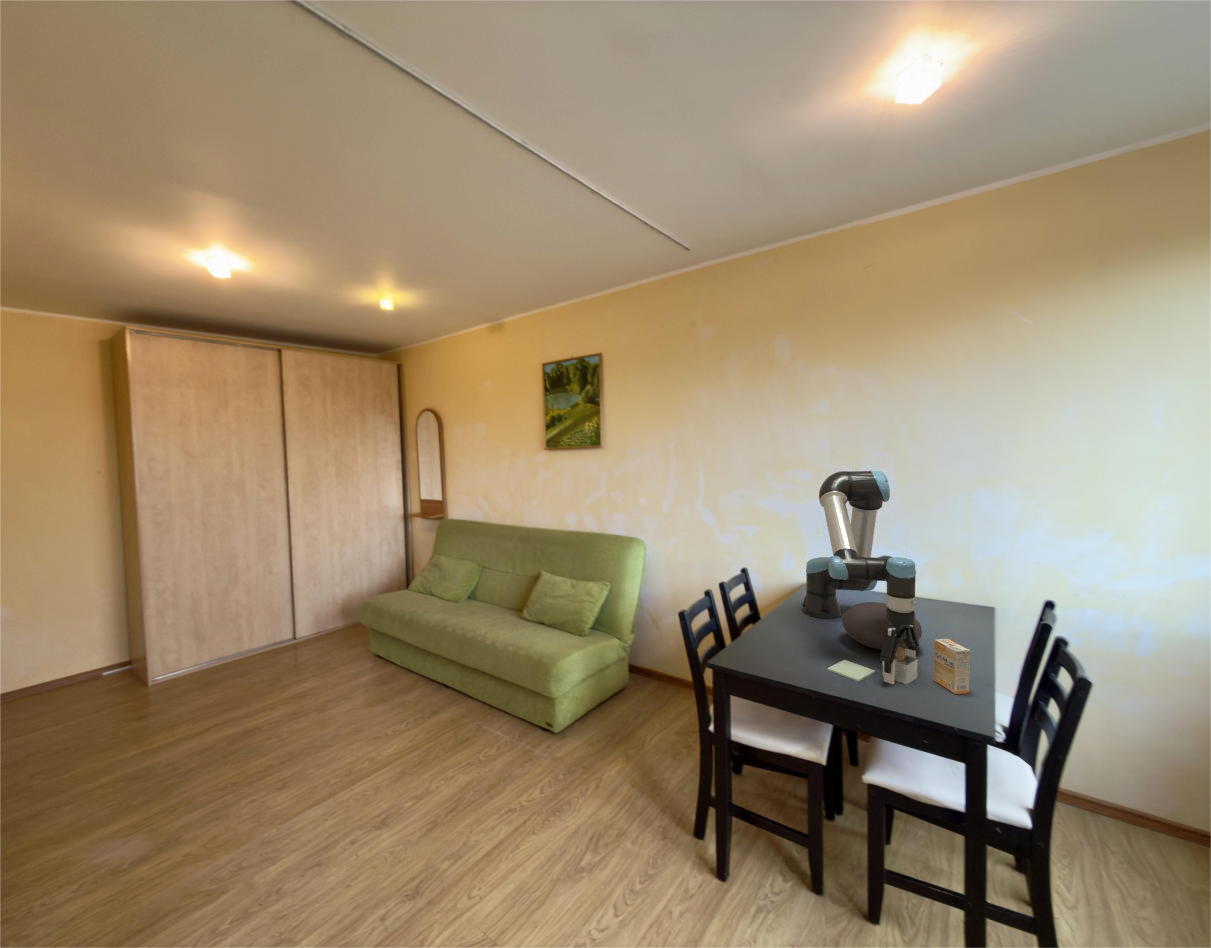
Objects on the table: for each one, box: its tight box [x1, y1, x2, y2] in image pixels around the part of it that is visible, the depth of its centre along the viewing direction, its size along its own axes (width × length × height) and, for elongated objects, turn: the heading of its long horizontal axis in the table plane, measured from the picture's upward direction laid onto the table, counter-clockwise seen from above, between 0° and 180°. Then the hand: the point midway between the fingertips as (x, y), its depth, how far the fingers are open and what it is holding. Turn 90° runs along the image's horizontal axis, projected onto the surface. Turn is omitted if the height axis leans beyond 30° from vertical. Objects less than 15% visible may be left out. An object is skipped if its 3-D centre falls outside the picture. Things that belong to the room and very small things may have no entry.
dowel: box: [895, 647, 905, 662], centre depth 151 cm, size 2×2×9 cm
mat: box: [827, 659, 876, 682], centre depth 156 cm, size 10×10×1 cm
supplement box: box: [933, 638, 971, 695], centre depth 144 cm, size 8×5×13 cm, turn 5°
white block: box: [882, 654, 919, 685], centre depth 151 cm, size 7×7×6 cm
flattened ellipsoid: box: [841, 601, 923, 651], centre depth 174 cm, size 25×25×15 cm
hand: (899, 676), depth 151 cm, fingers open, 13 cm apart
